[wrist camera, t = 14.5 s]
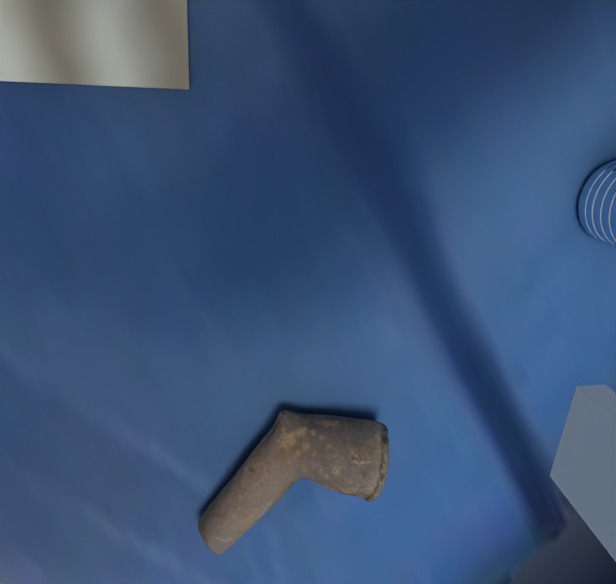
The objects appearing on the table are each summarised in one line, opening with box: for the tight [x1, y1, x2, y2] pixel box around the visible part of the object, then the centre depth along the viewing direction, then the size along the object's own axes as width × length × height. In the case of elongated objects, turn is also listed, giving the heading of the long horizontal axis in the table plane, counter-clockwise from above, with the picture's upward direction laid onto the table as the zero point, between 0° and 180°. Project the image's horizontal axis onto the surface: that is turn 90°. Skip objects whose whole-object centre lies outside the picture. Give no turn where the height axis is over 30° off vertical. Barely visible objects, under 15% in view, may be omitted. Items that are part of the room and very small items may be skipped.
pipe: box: [198, 410, 389, 555], centre depth 45 cm, size 6×17×10 cm
